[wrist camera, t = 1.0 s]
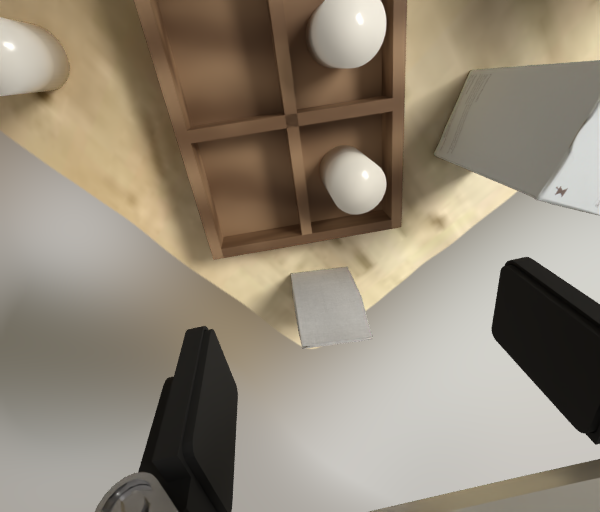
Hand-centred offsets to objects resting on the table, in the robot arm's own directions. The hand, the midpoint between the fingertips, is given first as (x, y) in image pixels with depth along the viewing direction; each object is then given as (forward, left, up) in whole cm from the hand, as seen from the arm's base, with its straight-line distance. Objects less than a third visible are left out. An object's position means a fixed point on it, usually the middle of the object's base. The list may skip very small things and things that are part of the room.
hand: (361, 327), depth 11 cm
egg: (-11, -19, -25) cm, 33 cm away
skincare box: (-1, +18, -25) cm, 31 cm away
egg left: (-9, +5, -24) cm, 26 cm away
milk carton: (+15, +1, -25) cm, 29 cm away
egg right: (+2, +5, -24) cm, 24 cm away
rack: (-4, 0, -25) cm, 25 cm away
